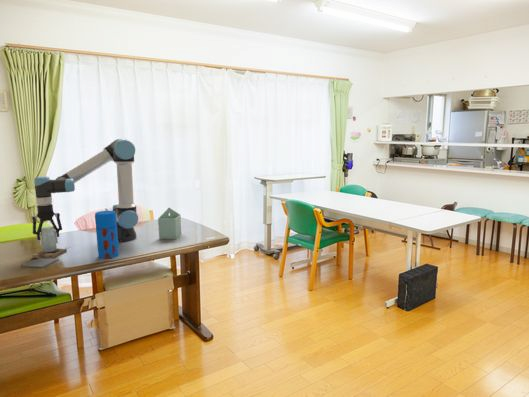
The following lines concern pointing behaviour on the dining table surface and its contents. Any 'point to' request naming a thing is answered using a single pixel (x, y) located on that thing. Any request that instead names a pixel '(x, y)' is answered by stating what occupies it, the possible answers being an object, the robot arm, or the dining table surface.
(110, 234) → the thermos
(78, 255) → the dining table surface
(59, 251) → the frame
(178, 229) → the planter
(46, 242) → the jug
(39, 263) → the coaster
